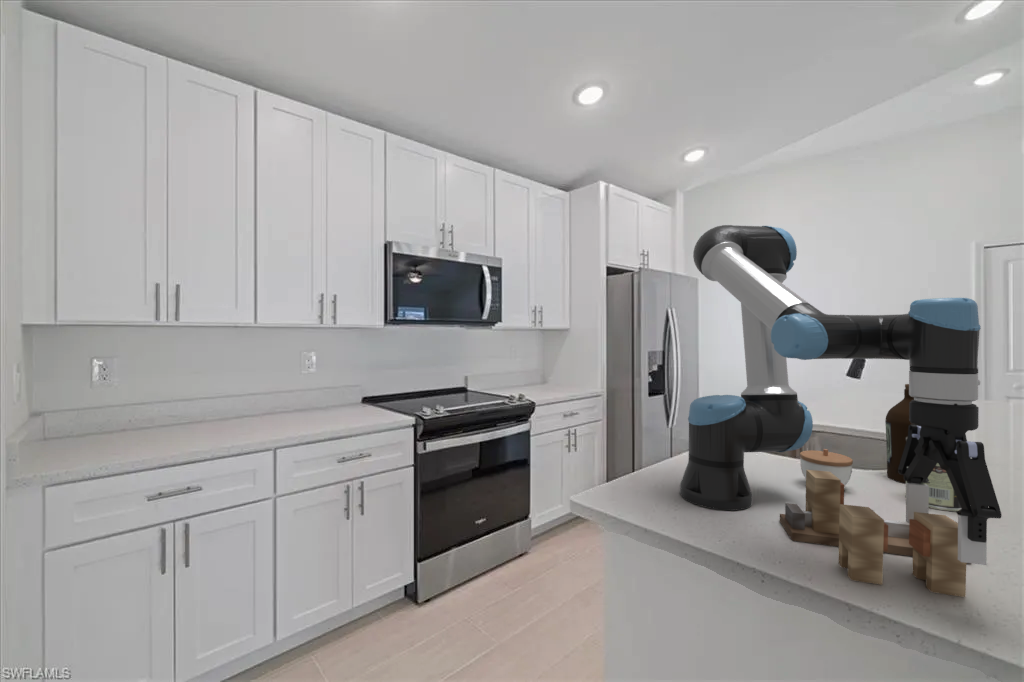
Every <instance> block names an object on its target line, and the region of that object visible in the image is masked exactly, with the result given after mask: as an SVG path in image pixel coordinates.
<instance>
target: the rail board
mask: <svg viewBox="0 0 1024 682" xmlns="http://www.w3.org/2000/svg"><path fill="white" fill-rule="evenodd" d="M784 507H785V509H784V510H785V511H784V513H779V522H780V524H781V525H782V527H783V529H784V530H785V532H786V534H788V536H789V538H790V539H791V541H793V542H799V543H808V544H815V545H823V546H830V547H832V546H833V547H838V548H839V534H832V533H824V532H816V531H813V529H812V512H810V511H805V510H802V508H801V507H800V506H799V505H798V504H797V503H789V502H785V505H784ZM883 520H884V522H885V523H886V524H887V525H888V551H883V554H884V553H885V554H891V555H892V554H893V555H901V556H907V557H908V556H909V557H913V547H912V546H911V545H910V544H909V523H907V522H906V521H900V520H899V521H897V520H890V519H883ZM967 564H968V565H971V564H972V563H966V565H967Z"/></svg>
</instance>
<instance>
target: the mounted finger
mask: <svg viewBox="0 0 1024 682" xmlns="http://www.w3.org/2000/svg"><path fill="white" fill-rule="evenodd" d="M840 504H844V505H845V486H844V484H843V483H841V480H840V479H839V478H837V477H836V476H835V475H834V474H832V473H831V472H828V471H817V470H806V479H805V510H804V511H810V512H812V529H813V531H816V532H824V533H832V534H839V516H840Z"/></svg>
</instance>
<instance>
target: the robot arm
mask: <svg viewBox="0 0 1024 682" xmlns="http://www.w3.org/2000/svg"><path fill="white" fill-rule="evenodd" d="M797 253H798V251H797V244H796V242H795V239H794V237H793V236H792V234H791V233H790V232H788V231H787V230H786V229H784V228H782V227H778V226H777V227H774V226H771V225H760V226H759V225H732V224H723V225H717V226H714V227H712V228H710V229H708V230H707V231H705V232H704V233H703V234H702V235H701V236H700V237H699V238H698V240H697V242H696V243H695V245H694V248H693V253H692V254H693V256H692V257H693V262H694V265H695V267H696V268H697V270H698V271H699V272H700V274H701V275H703V277H705V278H706V279H707V280H709V281H712V282H717V283H719V285H721V287H723V288H724V289H725V290H726V291H728V293H730V294H731V295H732V296H733V297H734V298H735V299H736V300H737V301H739V302H740V310H741V320H742V321H741V322H742V334H743V345H744V347H743V348H744V349H743V350H744V360H745V361H744V362H745V371H746V372H745V375H746V387H745V389H744V390H742V392H740V396H739V395H732V394H723V395H719V394H713V395H705V396H701V397H698V398H695V399H694V400H693V401H692V402H691V403H690V405H689V411H688V418H687V420H688V460H687V461H688V462H687V466H686V468H685V471H684V472H683V476H682V478H681V481H680V485H679V495H680V496H681V497H682V498H683V499H684V500H685V501H688V502H690V503H691V504H695V505H697V506H700V507H705V508H709V509H714V510H721V511H724V510H725V511H739V510H740V511H741V510H745V509H748V508H750V507H751V506H752V504H753V492H752V490H751V486H750V483H749V480H748V476H747V473H746V471H745V467H744V466H745V465H744V463H745V457H744V456H745V453H765V452H766V453H768V452H769V453H770V452H776V453H785V452H788V451H790V452H791V451H796V450H799V449H801V448H803V447H804V446H805V444H806V443H807V442H808V441H809V440H810V439H811V437H812V433H813V427H814V424H813V423H814V422H813V417H812V413H811V411H810V410H808V407H807V405H806V404H804V403H803V402H801V401H799V399H798V398H799V397H798V392H797V391H795V389H792V387H791V386H790V384H789V375H788V361H787V359H797V360H801V361H806V360H826V359H827V360H829V359H830V360H831V359H832V360H834V359H835V360H838V359H843V360H849V359H852V360H854V359H856V360H857V359H858V360H859V359H861V360H866V359H870V360H873V359H876V360H879V359H880V360H881V359H882V360H883V359H884V360H907V361H909V371H908V384H909V395H910V396H911V397H914V400H911V402H909V421H910V422H911V423H912V424H914V425H909V427H908V438H907V441H906V444H905V448H904V451H903V454H902V458H901V461H900V464H899V468H898V473H899V474H900V475H904V480H905V481H907V483H905V493H906V494H905V495H906V498H905V522H907V523H909V522H910V519H914V512H919V513H929V509H930V508H929V486H928V485H926V484H921V483H930V482H929V479H928V476H929V475H930V473H931V472H932V470H933V469H934V467H935V466H936V464H937V463H939V465H940V467H941V468H942V469H944V470H945V471H946V472H947V475H948V477H949V480H950V482H951V484H952V487H953V489H954V492H955V494H956V496H957V499H958V501H959V504H960V506H961V508H962V509H960V510H959V511H956V514H957V523H958V560H959V561H960V562H965V563H966V564H967V563H971V564H974V565H981V566H982V565H983V566H987V551H988V550H987V549H988V548H987V547H988V545H987V544H988V542H987V541H988V540H987V539H988V537H987V536H988V535H987V534H988V528H987V527H988V526H987V525H988V520H989V519H999V520H1000V519H1001V518H1002V517H1003V516H1002V512H1001V508H1000V505H999V502H998V497H997V495H996V492H995V488H994V485H993V481H992V478H991V475H990V471H989V469H988V465H987V462H986V456H985V455H986V454H985V445H984V443H983V442H982V441H968V439H967V432H969V431H970V432H971V431H976V430H977V429H978V428H979V413H980V412H979V406H977V404H974V403H973V402H975V401H978V400H979V386H980V385H981V381H980V379H979V367H978V365H979V364H978V363H979V345H980V342H979V341H980V331H981V325H980V321H979V320H980V318H979V307H978V303H977V302H976V300H974V299H972V298H968V297H939V298H933V297H932V298H923V299H917V300H913V301H911V303H910V305H909V311H908V313H903V314H878V315H877V314H859V315H858V314H827V313H824V312H822V311H821V310H819V309H818V308H816V307H815V306H813V304H811V303H809V302H808V301H807V300H806V299H804V298H802V297H801V296H799V295H798V294H797V293H796V292H794V291H793V290H791V288H789V287H787V286H786V284H783V283H784V281H785V280H786V279H787V278H788V277H787V273H789V272H790V271H791V270H792V268H793V266H794V265H795V263H794V261H796V260H797ZM907 467H908V468H907Z"/></svg>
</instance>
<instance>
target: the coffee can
mask: <svg viewBox="0 0 1024 682" xmlns="http://www.w3.org/2000/svg"><path fill="white" fill-rule="evenodd" d="M907 438H908V437H906V441H907ZM907 468H908V467H907ZM928 479H929V482H930V483H921V484H926V485H928V486H929V509H935V510H939V511H946V512H947V511H948V512H958V511H959V510H960V509H962V508H961V506H960V504H959V501H958V499H957V496H956V494H955V492H954V489H953V487H952V484H951V482H950V480H949V477H948V475H947V472H946V471H945V470H944V469H942V468H941V467H940V465H939V463H937V464H936V466H935V467H934V469H933V470H932V472H931V473H930V475H929V476H928ZM906 483H907V481H906ZM906 483H905V484H906ZM904 494H905V495H904V498H905V499H906V492H905V493H904Z"/></svg>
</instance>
